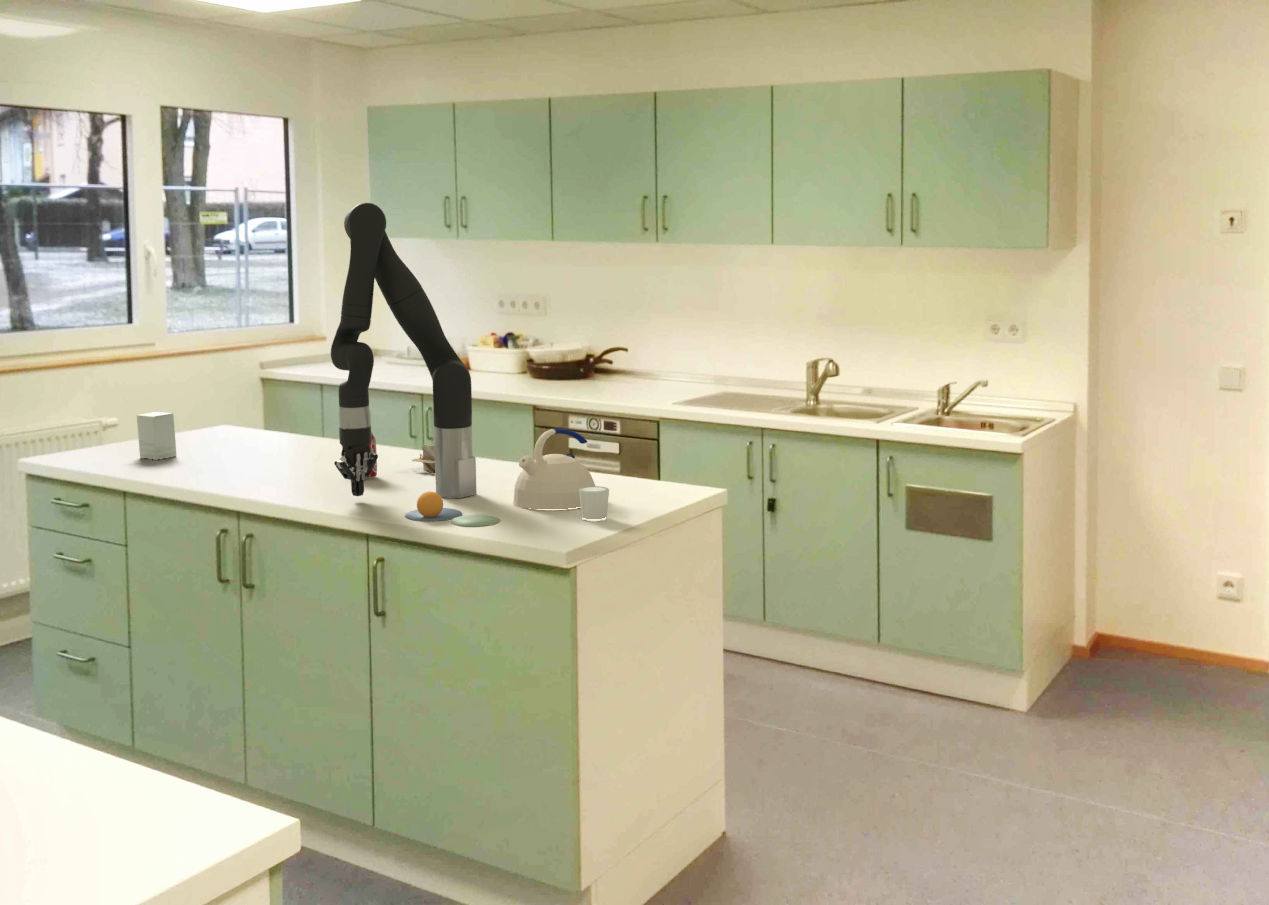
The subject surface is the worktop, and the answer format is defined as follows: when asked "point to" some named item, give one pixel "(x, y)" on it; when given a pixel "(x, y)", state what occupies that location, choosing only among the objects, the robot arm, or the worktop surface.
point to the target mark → (444, 515)
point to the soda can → (374, 470)
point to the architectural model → (427, 458)
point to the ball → (430, 504)
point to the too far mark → (475, 520)
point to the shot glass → (594, 502)
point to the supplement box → (156, 435)
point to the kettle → (551, 477)
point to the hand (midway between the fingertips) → (357, 495)
